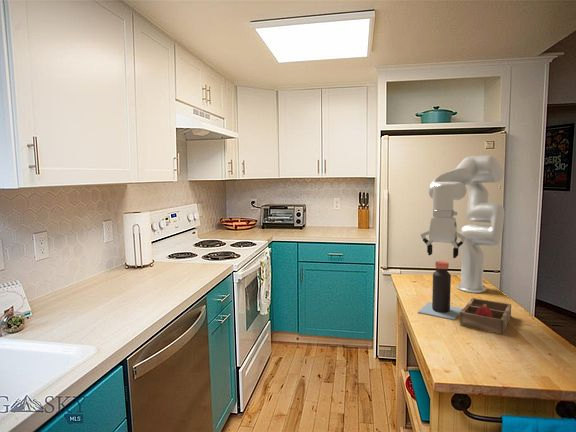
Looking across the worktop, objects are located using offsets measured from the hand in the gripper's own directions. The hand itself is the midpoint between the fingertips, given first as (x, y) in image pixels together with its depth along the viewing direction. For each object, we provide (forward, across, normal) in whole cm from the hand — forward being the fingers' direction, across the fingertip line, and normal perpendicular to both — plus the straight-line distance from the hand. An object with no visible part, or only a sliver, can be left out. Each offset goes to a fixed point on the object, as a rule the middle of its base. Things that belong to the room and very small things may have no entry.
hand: (442, 256), depth 153 cm
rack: (+23, -17, +2) cm, 29 cm away
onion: (+23, -17, +7) cm, 29 cm away
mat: (+23, 0, +1) cm, 23 cm away
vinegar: (+23, 0, +1) cm, 23 cm away
